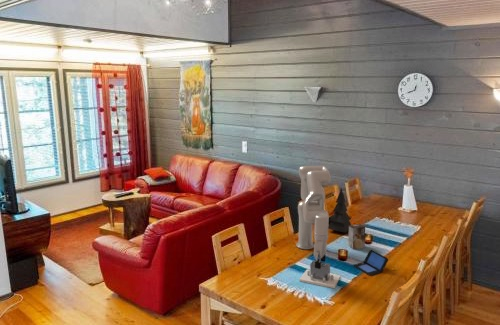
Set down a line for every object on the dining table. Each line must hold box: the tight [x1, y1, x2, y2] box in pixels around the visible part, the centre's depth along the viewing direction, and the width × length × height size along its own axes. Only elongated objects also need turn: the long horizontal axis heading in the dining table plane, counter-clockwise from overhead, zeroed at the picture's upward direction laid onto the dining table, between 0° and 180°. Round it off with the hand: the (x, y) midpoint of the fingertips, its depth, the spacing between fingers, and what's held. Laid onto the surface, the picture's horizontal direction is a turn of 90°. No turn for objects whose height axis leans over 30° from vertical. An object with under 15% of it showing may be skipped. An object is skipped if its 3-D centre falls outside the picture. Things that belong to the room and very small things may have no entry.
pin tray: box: [298, 268, 341, 289], centre depth 224 cm, size 14×20×4 cm
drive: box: [309, 260, 331, 281], centre depth 223 cm, size 5×10×8 cm, turn 64°
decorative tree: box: [328, 187, 352, 233], centre depth 294 cm, size 15×15×35 cm
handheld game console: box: [353, 249, 389, 277], centre depth 235 cm, size 16×13×9 cm
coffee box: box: [347, 223, 366, 250], centre depth 266 cm, size 9×6×16 cm
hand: (320, 264), depth 223 cm, fingers open, 9 cm apart
